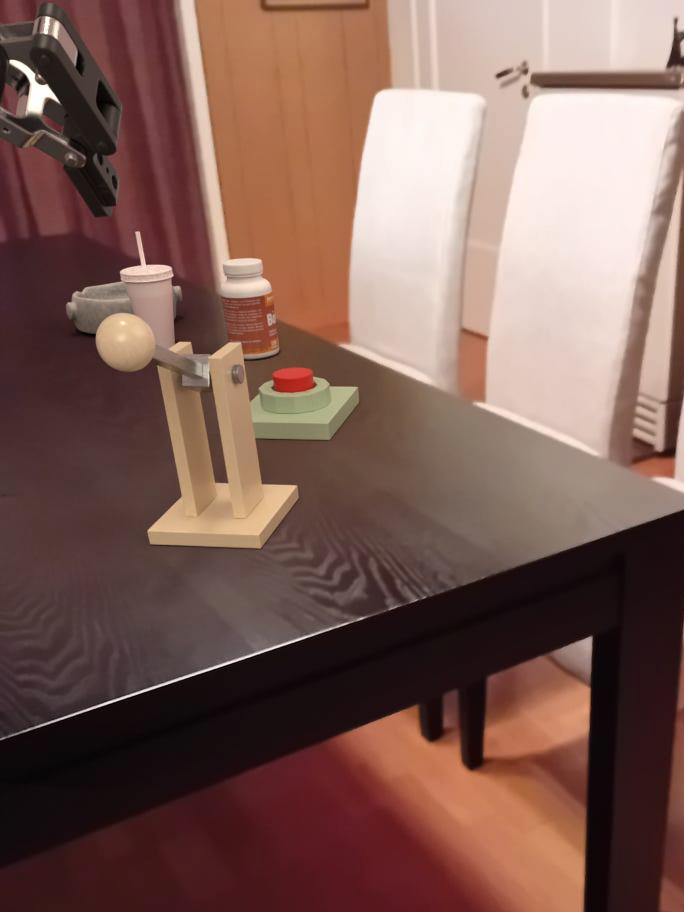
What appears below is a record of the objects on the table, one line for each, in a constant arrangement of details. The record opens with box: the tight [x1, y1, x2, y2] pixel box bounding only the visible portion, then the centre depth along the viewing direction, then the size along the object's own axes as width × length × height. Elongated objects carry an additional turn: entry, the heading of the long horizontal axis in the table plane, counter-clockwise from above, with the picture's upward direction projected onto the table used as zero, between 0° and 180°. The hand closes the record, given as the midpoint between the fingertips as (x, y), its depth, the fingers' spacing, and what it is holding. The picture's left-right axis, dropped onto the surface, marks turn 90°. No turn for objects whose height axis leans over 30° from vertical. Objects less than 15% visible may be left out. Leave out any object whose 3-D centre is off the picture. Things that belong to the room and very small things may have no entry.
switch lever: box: [95, 313, 214, 393], centre depth 70 cm, size 15×4×4 cm, turn 172°
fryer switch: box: [146, 341, 300, 549], centre depth 78 cm, size 10×9×14 cm
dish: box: [65, 280, 183, 335], centre depth 140 cm, size 14×14×5 cm
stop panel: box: [250, 376, 360, 441], centre depth 103 cm, size 12×10×4 cm
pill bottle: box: [219, 257, 280, 360], centre depth 123 cm, size 6×6×11 cm
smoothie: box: [119, 230, 176, 349], centre depth 127 cm, size 6×6×14 cm
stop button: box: [272, 366, 314, 393], centre depth 102 cm, size 4×4×2 cm
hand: (27, 208), depth 52 cm, fingers open, 8 cm apart
